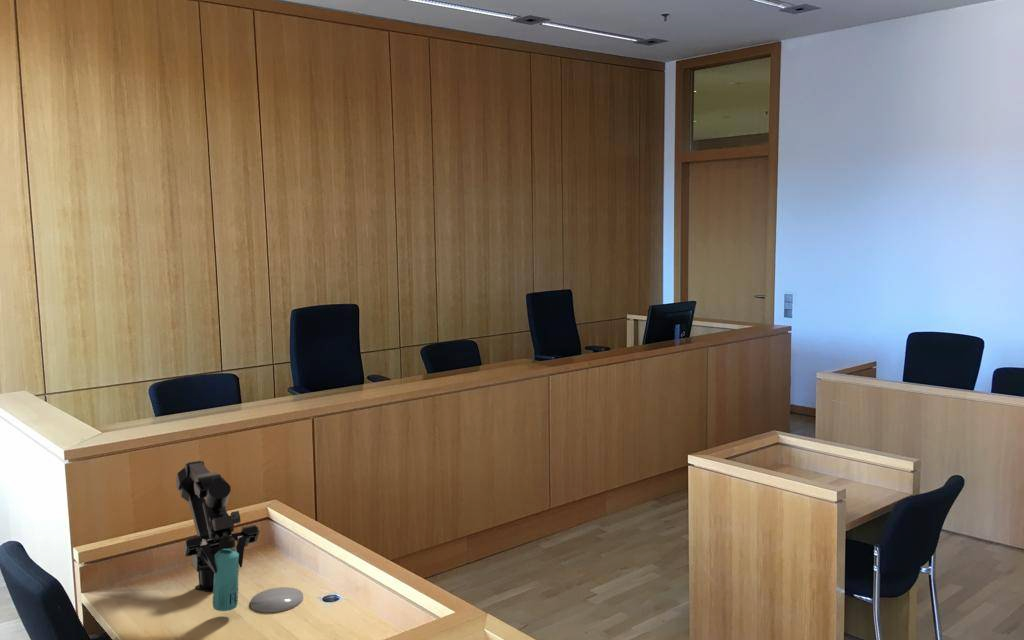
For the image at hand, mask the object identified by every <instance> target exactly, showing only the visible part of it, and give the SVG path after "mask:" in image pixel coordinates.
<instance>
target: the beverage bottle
mask: <svg viewBox="0 0 1024 640" xmlns="http://www.w3.org/2000/svg"><path fill="white" fill-rule="evenodd" d="M219 547H220V548H223V549H221V550H219V551H218V552H217V553H216V554H215V556H214V558H215V561H214V562H215V565H216V570H217V572H216V573H214V585H213V592H212V608H213V609H214V610H215V611H219V612H228V611H231V610H234V609H236V608H237V606H238V604H239V574H240V568H239V567H240V566H239V553H238V552H237V549H234V548H236V541H235V538H233V537H223V538H221V539H220V541H219Z"/></svg>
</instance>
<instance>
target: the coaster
mask: <svg viewBox="0 0 1024 640" xmlns="http://www.w3.org/2000/svg"><path fill="white" fill-rule="evenodd" d="M303 600H304V593H303V592H302V591H301V590H300V589H298V588H295V587H290V586H289V587H288V586H285V587H284V586H281V587H273V588H269V589H265V590H263V591H260V592H259V593H256V594H255V595H253V596H252V598H251V599H250V607H251V609H253V611H256V612H259V613H264V614H265V613H266V614H273V613H281V612H284V611H285V612H286V611H288V610H291V609H293V608H296V607H297V606H299V605H300V604H301V603H302V602H303Z"/></svg>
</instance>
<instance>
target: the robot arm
mask: <svg viewBox="0 0 1024 640" xmlns="http://www.w3.org/2000/svg"><path fill="white" fill-rule="evenodd" d="M175 485H176V490H177V491H179V493H180V497H181V498H182V499H184V501H187V503H188V505H189V510H190V512H191V516H192V520H193V524H194V527H195V528H194V529H195V532H196V536H192V537H187V538H186V539H185V542H184V545H183V550H184V551H183V552H184V557H191V556H192V564H193V565H192V566H193V568H194V570H195V571H196V572H197V573H198V585H196V586H194V589H196V590H199V591H204V592H210V593H213V585H214V573H216V572H217V570H216V565H215V562H214V561H215V558H214V556H215V554H216V553H217V552H218V551H219V550H221V549H223V548H220V547H219V541H220V539H221V538H223V537H233V538H235V542H237V544H236V545H235V548H236V549H235V550H236V551H237V552H238V553H239V567H240V568H242V567H243V561H244V552H245V548H246V547H248V546H249V544H252V543H255V542H257V540H258V538H259V534H260V530H259V527H258V526H257V525H256V524H252V525H251V524H250V525H247V526H242V527H241V530H240V531H239V532H235V533H233V532H234V530H235V525H237V524H241V515H240V512H239V510H236V511H231V513H230V515H229V513H228V511H227V507H226V505H227V504H228V501H229V498H230V493H231V490H232V489H231V488H232V487H231V485H230V484H229V482H227V481H226V480H225V478H224V477H223V476H222V475H221V474H220V473H217V472H210V470H209V469H208V468H207V467H206V465H205V463H204V461H203V460H194V461H190V462H189V461H188V462H186V463H184V467H183V468H182V469H181V470H179V472H177V474H176V479H175Z"/></svg>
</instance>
